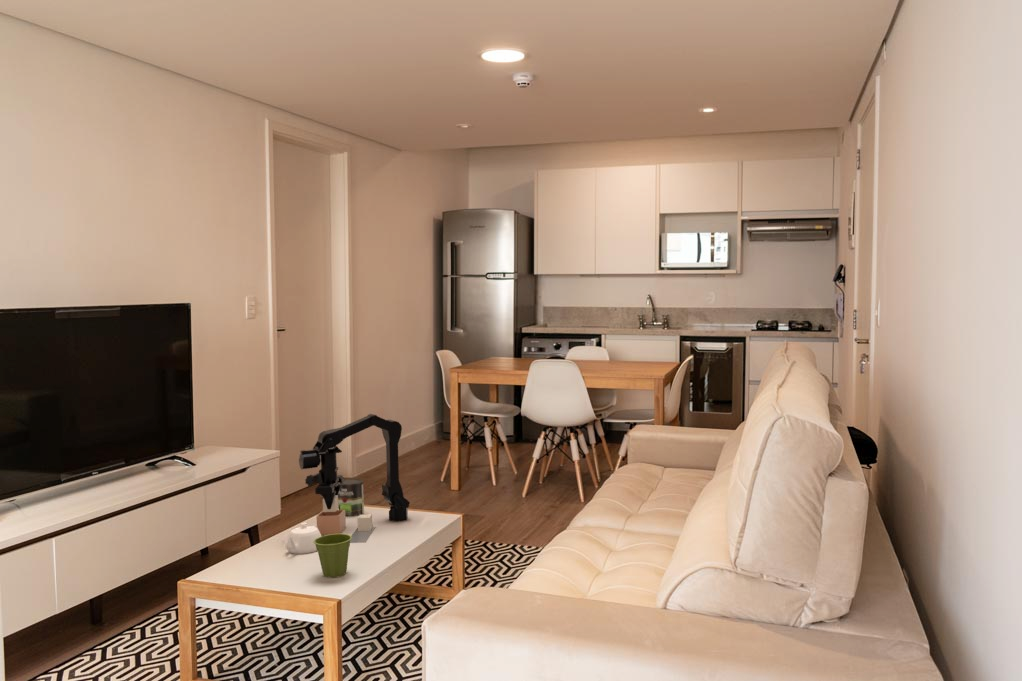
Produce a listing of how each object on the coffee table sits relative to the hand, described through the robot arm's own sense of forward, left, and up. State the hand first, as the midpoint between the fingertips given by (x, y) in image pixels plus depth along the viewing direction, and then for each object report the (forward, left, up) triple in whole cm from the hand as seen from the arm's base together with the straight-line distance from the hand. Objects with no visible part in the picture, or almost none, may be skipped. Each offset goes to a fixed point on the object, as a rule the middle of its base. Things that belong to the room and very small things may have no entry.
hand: (330, 507), depth 295 cm
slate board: (-12, +6, -10) cm, 17 cm away
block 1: (0, 0, -1) cm, 1 cm away
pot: (0, 0, -10) cm, 10 cm away
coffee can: (-2, -25, -10) cm, 27 cm away
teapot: (+4, +21, -10) cm, 24 cm away
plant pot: (-12, +44, -10) cm, 47 cm away
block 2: (-12, -1, -9) cm, 15 cm away
